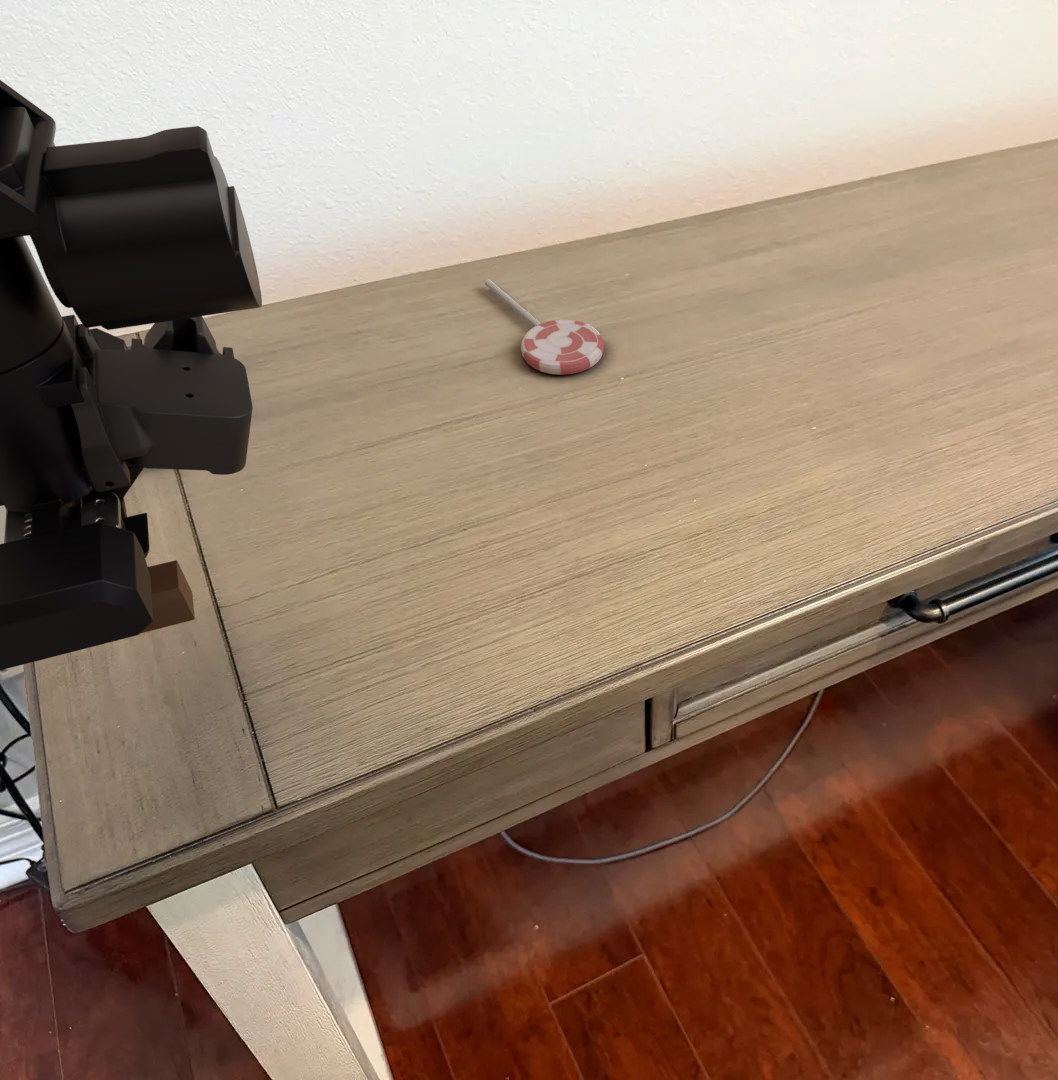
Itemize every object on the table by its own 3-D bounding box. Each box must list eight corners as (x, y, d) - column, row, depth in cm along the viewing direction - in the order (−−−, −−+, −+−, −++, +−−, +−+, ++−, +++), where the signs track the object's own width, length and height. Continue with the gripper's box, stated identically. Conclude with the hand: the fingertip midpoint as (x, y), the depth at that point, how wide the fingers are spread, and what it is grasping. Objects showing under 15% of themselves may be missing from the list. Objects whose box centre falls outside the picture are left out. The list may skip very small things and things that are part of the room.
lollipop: (520, 265, 90) (620, 346, 82) (521, 276, 91) (620, 357, 83) (452, 288, 87) (549, 375, 79) (454, 299, 88) (550, 386, 80)
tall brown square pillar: (195, 620, 52) (179, 587, 50) (84, 648, 50) (63, 615, 48) (192, 591, 53) (176, 559, 51) (84, 618, 51) (64, 586, 50)
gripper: (227, 439, 36) (328, 704, 47) (190, 196, 48) (278, 453, 59) (-149, 517, 33) (55, 783, 44) (-88, 235, 45) (60, 500, 56)
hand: (128, 607), depth 51 cm, fingers closed on tall brown square pillar, 2 cm apart
